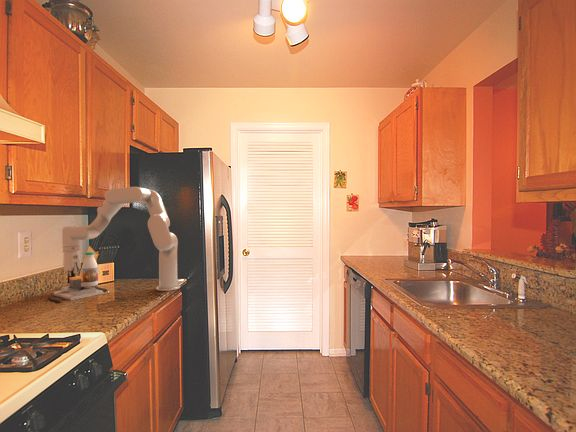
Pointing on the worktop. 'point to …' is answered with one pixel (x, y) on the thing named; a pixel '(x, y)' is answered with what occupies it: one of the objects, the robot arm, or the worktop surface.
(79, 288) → the block
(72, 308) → the worktop surface
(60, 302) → the cord
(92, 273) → the milk bottle
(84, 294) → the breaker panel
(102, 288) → the cord
